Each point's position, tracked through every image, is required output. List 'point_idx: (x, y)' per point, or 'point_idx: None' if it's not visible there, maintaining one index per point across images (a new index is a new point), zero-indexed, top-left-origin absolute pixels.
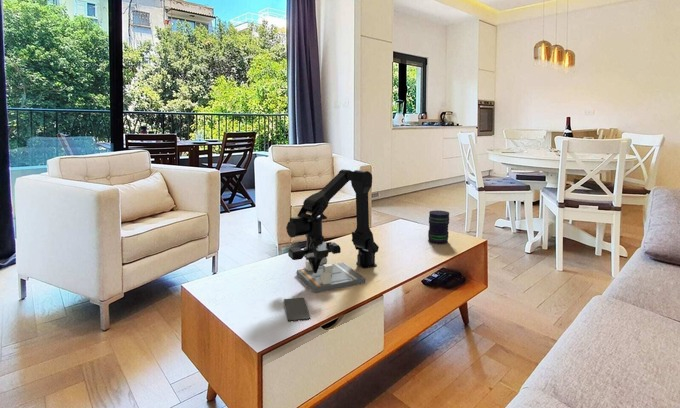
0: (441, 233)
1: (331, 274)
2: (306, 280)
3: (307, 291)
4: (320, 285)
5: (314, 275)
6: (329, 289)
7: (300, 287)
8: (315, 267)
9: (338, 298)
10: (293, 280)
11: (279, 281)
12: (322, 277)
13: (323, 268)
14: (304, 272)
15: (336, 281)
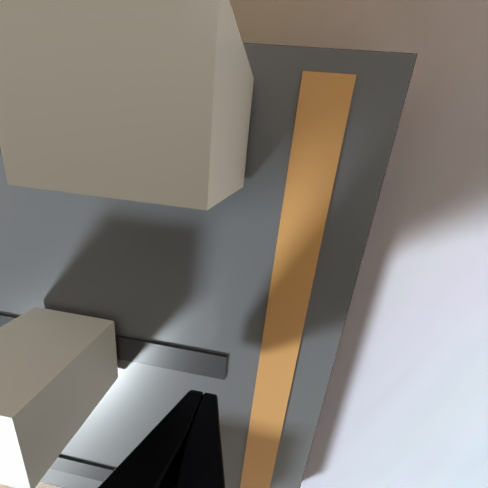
0: None
1: (47, 309)
2: (331, 351)
3: (420, 178)
4: (303, 83)
5: (207, 389)
6: None
7: (410, 303)
8: (179, 482)
9: None
10: (363, 441)
11: (468, 485)
12: (232, 95)
13: (68, 420)
14: (257, 482)
15: None
